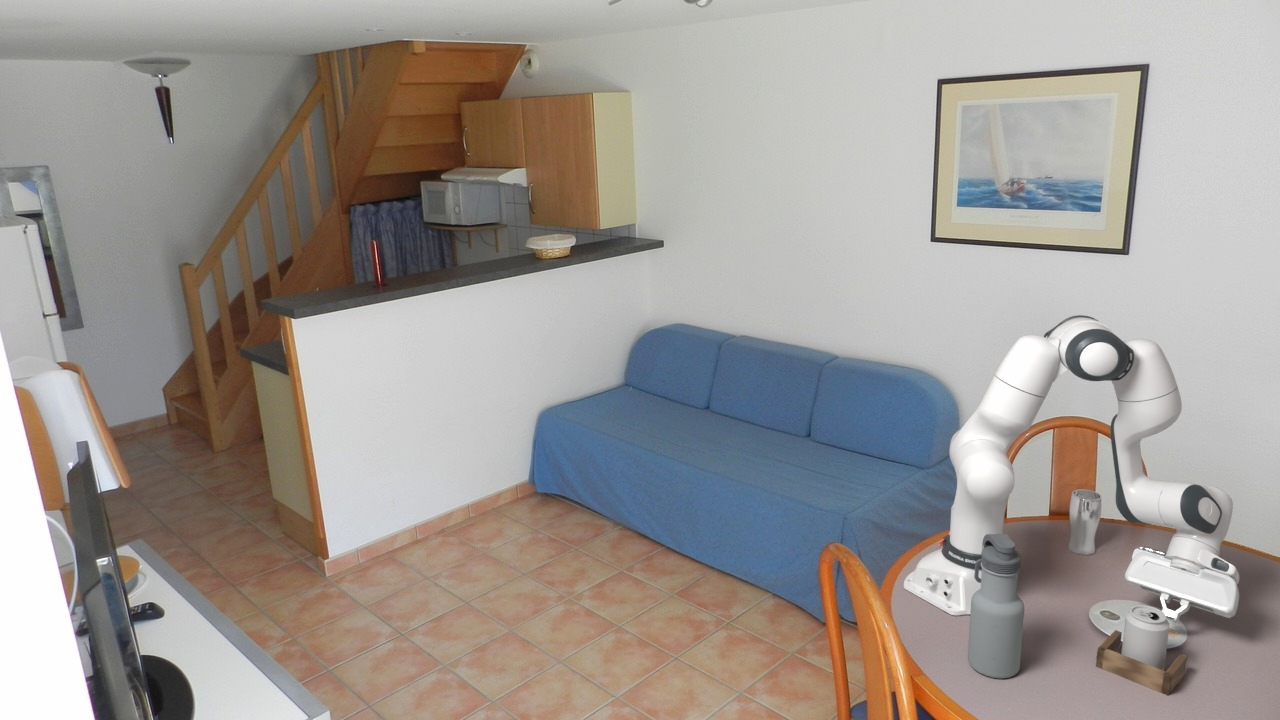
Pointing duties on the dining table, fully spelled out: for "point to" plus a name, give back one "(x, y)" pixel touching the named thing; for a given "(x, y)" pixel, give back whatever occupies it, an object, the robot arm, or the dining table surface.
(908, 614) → the dining table surface
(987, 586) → the water bottle
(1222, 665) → the dining table surface
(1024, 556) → the dining table surface
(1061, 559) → the dining table surface
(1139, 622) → the can
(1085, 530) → the beer glass
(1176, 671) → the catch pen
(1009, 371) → the robot arm
